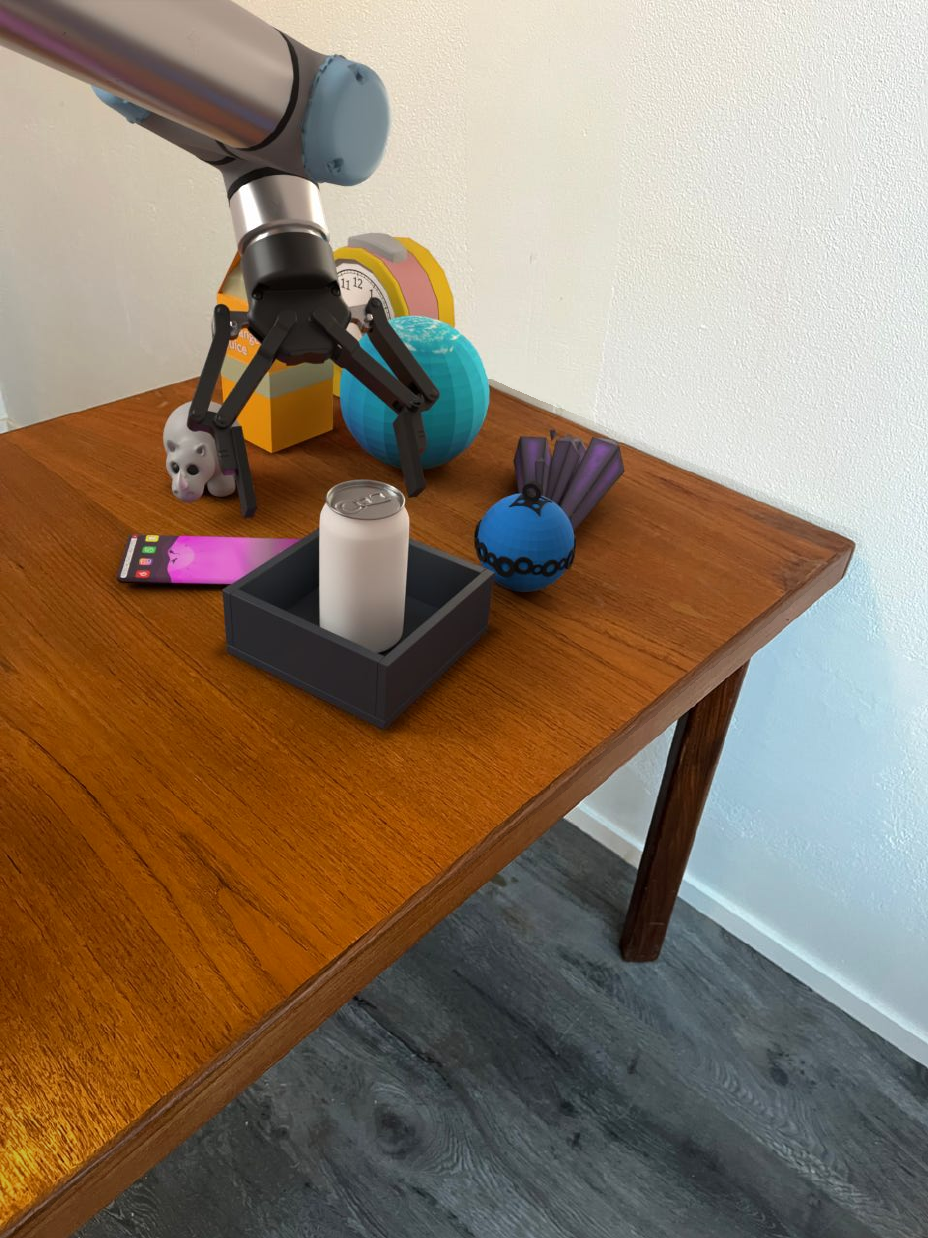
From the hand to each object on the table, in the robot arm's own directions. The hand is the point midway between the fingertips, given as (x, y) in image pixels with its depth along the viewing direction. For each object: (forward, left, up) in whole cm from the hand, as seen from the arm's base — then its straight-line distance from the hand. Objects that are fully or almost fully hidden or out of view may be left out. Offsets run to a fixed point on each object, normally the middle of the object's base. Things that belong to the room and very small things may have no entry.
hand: (336, 503), depth 77 cm
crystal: (+8, +27, -8) cm, 29 cm away
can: (+6, -4, -8) cm, 11 cm away
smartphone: (-10, -3, -8) cm, 14 cm away
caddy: (+6, -4, -8) cm, 11 cm away
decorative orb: (-8, +24, -8) cm, 26 cm away
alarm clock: (-20, +35, -8) cm, 41 cm away
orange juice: (-23, +21, -8) cm, 32 cm away
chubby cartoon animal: (-19, +4, -8) cm, 21 cm away
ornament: (+12, +11, -8) cm, 18 cm away
